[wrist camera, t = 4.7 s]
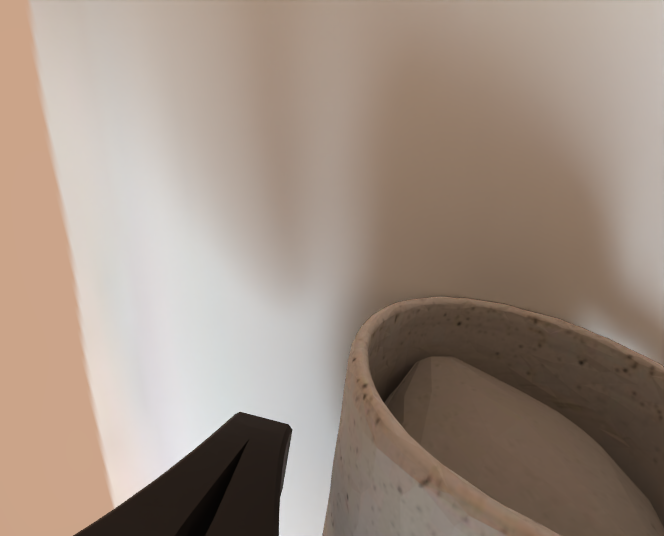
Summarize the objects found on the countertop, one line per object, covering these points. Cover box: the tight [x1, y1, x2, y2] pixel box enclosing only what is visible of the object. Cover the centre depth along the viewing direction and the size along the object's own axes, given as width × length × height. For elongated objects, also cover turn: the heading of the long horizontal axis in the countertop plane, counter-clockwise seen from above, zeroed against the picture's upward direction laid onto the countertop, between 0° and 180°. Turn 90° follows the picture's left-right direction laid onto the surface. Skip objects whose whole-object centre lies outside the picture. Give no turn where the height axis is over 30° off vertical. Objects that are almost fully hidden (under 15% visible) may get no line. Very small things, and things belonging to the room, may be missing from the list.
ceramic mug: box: [323, 297, 664, 536], centre depth 9 cm, size 11×8×8 cm
